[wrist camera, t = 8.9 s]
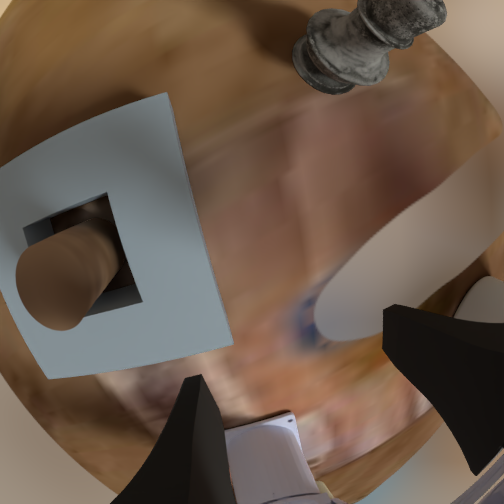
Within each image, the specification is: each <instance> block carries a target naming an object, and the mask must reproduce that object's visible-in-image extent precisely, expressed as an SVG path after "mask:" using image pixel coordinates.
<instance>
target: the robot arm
mask: <svg viewBox="0 0 504 504" xmlns="http://www.w3.org/2000/svg"><path fill="white" fill-rule="evenodd" d="M382 349H383V351H384V352H385V353H386V355H387V356H388V358H389V359H390V360H391V362H392V363H393V364H394V366H395V367H396V368H397V369H398V370H399V371H400V372H401V373H402V374H403V375H404V376H405V377H406V378H407V379H408V380H409V381H410V382H411V383H412V384H413V385H414V386H415V387H416V388H417V389H418V390H419V391H420V392H421V393H422V394H423V395H424V396H425V397H426V398H427V399H428V400H429V401H430V402H431V404H432V405H433V406H434V407H435V409H436V410H437V412H438V413H439V414H440V416H441V417H442V418H443V420H444V421H445V423H446V424H447V426H448V427H449V429H450V430H451V432H452V434H453V435H454V437H455V439H456V440H457V442H458V444H459V446H460V448H461V450H462V452H463V454H464V456H465V458H466V460H467V463H468V465H469V468H470V470H471V471H472V473H473V474H474V475H475V476H477V475H478V474H479V473H480V472H481V471H482V470H483V469H484V468H485V467H486V466H487V465H488V464H489V463H490V462H491V461H492V460H493V459H494V458H495V457H496V456H497V455H498V454H499V453H500V452H501V451H502V449H503V448H504V323H487V322H476V321H468V320H463V319H457V318H452V317H447V316H443V315H439V314H435V313H431V312H427V311H423V310H419V309H415V308H411V307H407V306H402V305H397V304H394V305H392V306H390V307H388V308H386V309H384V310H383V344H382ZM228 462H229V464H228ZM229 467H230V472H231V477H232V482H233V487H234V492H235V496H236V501H237V504H348V503H346V502H345V501H342V500H340V499H338V498H333V499H330V497H329V495H328V493H327V492H325V493H322V494H321V493H320V491H319V488H318V486H317V484H316V482H315V480H314V477H313V475H312V473H311V471H310V469H309V466H308V464H307V462H306V460H305V457H304V455H303V453H302V448H301V444H300V439H299V434H298V430H297V425H296V420H295V416H294V414H293V413H292V412H288V413H285V414H282V415H279V416H276V417H273V418H269V419H266V420H262V421H259V422H255V423H252V424H248V425H244V426H240V427H236V428H232V429H228V430H224V427H223V423H222V418H221V414H220V410H219V408H218V406H217V404H216V402H215V400H214V398H213V396H212V394H211V392H210V390H209V388H208V386H207V384H206V382H205V380H204V378H203V376H202V374H200V375H196V376H192V377H187V378H185V379H184V381H183V384H182V387H181V389H180V392H179V394H178V397H177V399H176V402H175V404H174V407H173V409H172V411H171V414H170V416H169V418H168V420H167V423H166V425H165V427H164V429H163V431H162V433H161V435H160V437H159V439H158V440H157V442H156V444H155V446H154V448H153V449H152V451H151V453H150V455H149V456H148V458H147V459H146V461H145V462H144V464H143V465H142V467H141V468H140V470H139V471H138V472H137V474H136V475H135V476H134V478H133V479H132V480H131V481H130V483H129V484H128V485H127V486H126V487H125V489H124V490H123V491H122V492H121V493H120V494H119V495H118V496H117V497H116V498H115V499H114V500H113V501H112V502H111V503H110V504H236V502H235V498H234V494H233V491H232V486H231V480H230V472H229ZM503 473H504V454H503V455H502V456H501V457H500V458H499V459H498V460H497V462H496V463H495V464H494V465H493V466H492V467H491V468H490V469H489V470H488V471H487V472H486V473H485V474H484V475H483V476H482V477H481V478H480V479H479V480H478V481H477V482H475V483H474V484H473V485H472V486H471V487H470V488H469V489H468V490H466V491H465V492H464V493H463V494H462V495H461V496H459V497H458V498H457V499H456V500H455V501H454V502H452V503H451V504H473V503H475V502H476V501H477V500H478V499H479V498H480V497H481V496H482V495H483V494H484V493H485V492H486V491H487V490H488V489H489V488H490V487H491V486H492V485H493V484H494V483H495V482H496V481H497V480H498V479H499V478H500V477H501V476H502V475H503ZM478 504H504V479H503V480H502V481H501V482H499V483H498V484H497V485H496V486H495V487H494V488H493V489H492V490H491V491H490V492H489V493H488V494H487V495H485V497H484V498H483V499H482V500H481V501H480V502H479V503H478Z"/></svg>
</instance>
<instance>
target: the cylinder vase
mask: <svg viewBox="0 0 504 504" xmlns="http://www.w3.org/2000/svg"><path fill="white" fill-rule="evenodd" d="M454 318H457V319H463V320H468V321H476V322H487V323H504V282H503V281H501V280H499V279H497V278H494V277H492V276H486V277H484V278H482V279H480V280H479V281H477V282H476V283H475V284H474V285H473V286H472V288H471V289H470V290H469V291H468V293H467V294H466V296H465V297H464V299H463V300H462V302H461V304H460V306H459V307H458V309H457V311H456V313H455V315H454Z"/></svg>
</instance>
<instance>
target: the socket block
mask: <svg viewBox="0 0 504 504" xmlns="http://www.w3.org/2000/svg"><path fill="white" fill-rule="evenodd" d="M107 195H108V197H109V201H110V205H111V209H112V212H113V216H114V219H115V223H116V226H117V229H118V233H119V236H120V239H121V242H122V245H123V248H124V251H125V254H126V257H127V260H128V263H129V266H130V269H131V272H132V274H133V277H134V280H135V282H136V284H134V285H130V286H126V287H123V288H119V289H116V290H112V291H108V292H105V293H101V294H100V296H99V297H98V298H97V300H96V301H95V302H94V304H93V305H92V306H91V308H90V309H89V311H88V312H87V313H86V315H85V316H84V318H83V319H82V321H81V322H80V323H79V324H78V325H77V326H76V327H74V328H72V329H70V330H66V331H56V330H52V329H49V328H47V327H45V326H43V325H42V324H40V323H39V322H37V321H36V320H35V319H34V318H33V317H32V316H31V315H30V314H29V312H28V311H27V310H26V308H25V307H24V305H23V303H22V301H21V299H20V297H19V294H18V291H17V287H16V277H15V274H16V266H17V263H18V260H19V258H20V256H21V254H22V253H23V252H24V251H25V249H27V248H28V247H29V246H32V245H34V244H36V243H38V242H40V241H42V240H44V239H46V238H48V237H50V236H53V235H54V231H53V228H52V224H51V221H50V218H52V217H54V216H57V215H59V214H61V213H64V212H66V211H68V210H71V209H73V208H76V207H78V206H81V205H83V204H86V203H88V202H91V201H93V200H96V199H99V198H101V197H104V196H107ZM0 289H1V292H2V294H3V297H4V299H5V301H6V304H7V306H8V308H9V310H10V312H11V315H12V317H13V319H14V321H15V323H16V325H17V327H18V329H19V331H20V333H21V335H22V337H23V338H24V340H25V342H26V344H27V346H28V347H29V349H30V351H31V353H32V354H33V356H34V358H35V359H36V361H37V363H38V364H39V366H40V367H41V369H42V370H43V372H44V374H45V375H46V377H47V378H48V379H57V378H66V377H75V376H83V375H90V374H98V373H104V372H111V371H117V370H123V369H128V368H134V367H139V366H144V365H150V364H155V363H159V362H164V361H169V360H173V359H178V358H182V357H186V356H191V355H195V354H199V353H203V352H207V351H211V350H215V349H218V348H222V347H226V346H229V345H233V344H234V342H233V338H232V334H231V330H230V326H229V322H228V318H227V315H226V311H225V308H224V305H223V302H222V298H221V295H220V292H219V288H218V285H217V282H216V278H215V275H214V271H213V268H212V264H211V261H210V257H209V254H208V250H207V247H206V243H205V240H204V236H203V232H202V229H201V225H200V221H199V217H198V214H197V210H196V206H195V202H194V198H193V194H192V190H191V186H190V182H189V178H188V174H187V170H186V166H185V162H184V157H183V153H182V149H181V144H180V140H179V136H178V131H177V127H176V122H175V117H174V113H173V109H172V106H171V103H170V100H169V97H168V94H167V92H166V93H162V94H159V95H155V96H152V97H149V98H145V99H142V100H139V101H136V102H133V103H130V104H127V105H124V106H122V107H119V108H116V109H113V110H111V111H108V112H106V113H103V114H101V115H98V116H96V117H93V118H91V119H89V120H86V121H84V122H82V123H80V124H77V125H75V126H73V127H71V128H69V129H67V130H65V131H63V132H61V133H59V134H57V135H55V136H53V137H51V138H49V139H47V140H45V141H43V142H42V143H40V144H38V145H36V146H34V147H33V148H31V149H29V150H28V151H26V152H24V153H23V154H21V155H19V156H18V157H16V158H15V159H13V160H11V161H10V162H8V163H7V164H5V165H4V166H2V167H1V168H0Z"/></svg>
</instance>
